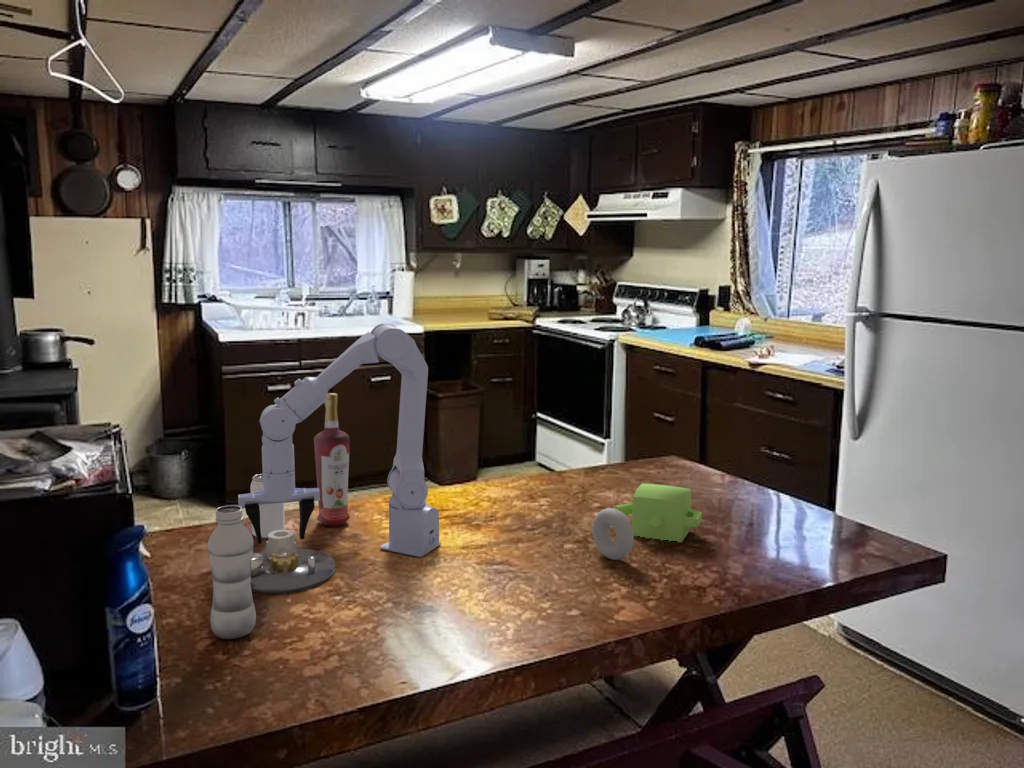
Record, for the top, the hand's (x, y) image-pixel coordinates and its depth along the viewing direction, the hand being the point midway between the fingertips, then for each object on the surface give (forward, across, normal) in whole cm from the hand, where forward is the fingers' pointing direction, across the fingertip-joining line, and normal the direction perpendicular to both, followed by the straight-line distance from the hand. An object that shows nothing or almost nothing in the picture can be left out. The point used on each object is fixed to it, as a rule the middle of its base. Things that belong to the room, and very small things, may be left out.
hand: (280, 539), depth 153 cm
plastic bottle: (+4, +9, +28) cm, 30 cm away
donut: (+4, -60, +18) cm, 63 cm away
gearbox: (+4, -75, +9) cm, 76 cm away
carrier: (+4, +1, +6) cm, 7 cm away
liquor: (+4, -12, -17) cm, 21 cm away
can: (+4, +1, -15) cm, 16 cm away
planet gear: (+3, 0, 0) cm, 3 cm away
